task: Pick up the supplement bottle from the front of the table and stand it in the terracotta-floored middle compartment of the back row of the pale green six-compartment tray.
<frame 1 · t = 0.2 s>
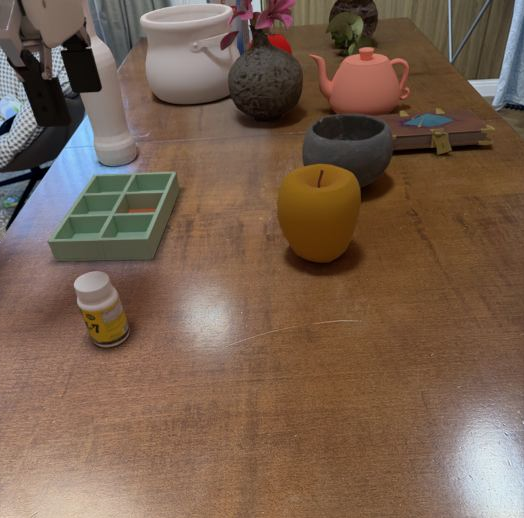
hand: (72, 107, 50), 25 cm above the table, tool pointing down, fingers open, 9 cm apart
teapot: (358, 112, 114), on the table
bottle: (118, 160, 103), on the table
tomato: (272, 75, 139), on the table
pot: (197, 92, 132), on the table
bowl: (344, 185, 88), on the table
milk carton: (232, 59, 153), on the table
book: (415, 141, 100), on the table
apple: (318, 256, 73), on the table
potted plant: (352, 52, 149), on the table
vase: (265, 118, 115), on the table
supplement bottle: (111, 336, 63), on the table
tray: (123, 222, 84), on the table
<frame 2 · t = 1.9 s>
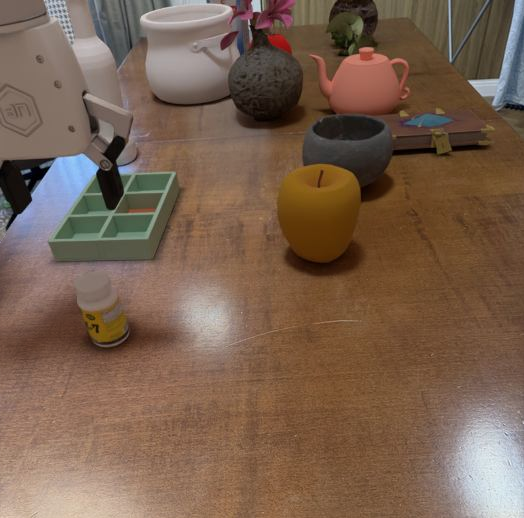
hand: (69, 205, 51), 17 cm above the table, tool pointing down, fingers open, 9 cm apart
nothing on the table moved.
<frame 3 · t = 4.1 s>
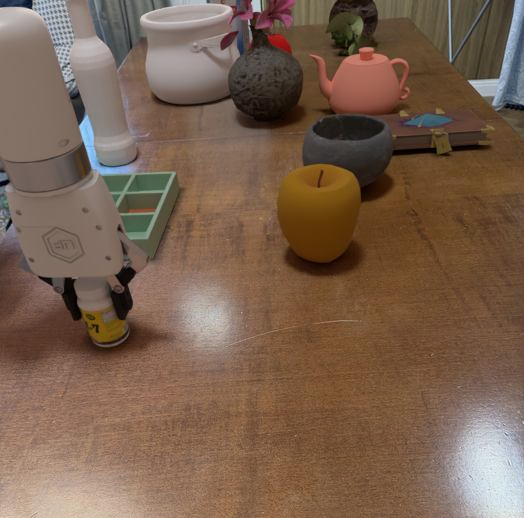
hand: (102, 312, 60), 4 cm above the table, tool pointing down, fingers closed on supplement bottle, 4 cm apart
supplement bottle: (111, 336, 63), on the table, touching gripper
everything else where it was.
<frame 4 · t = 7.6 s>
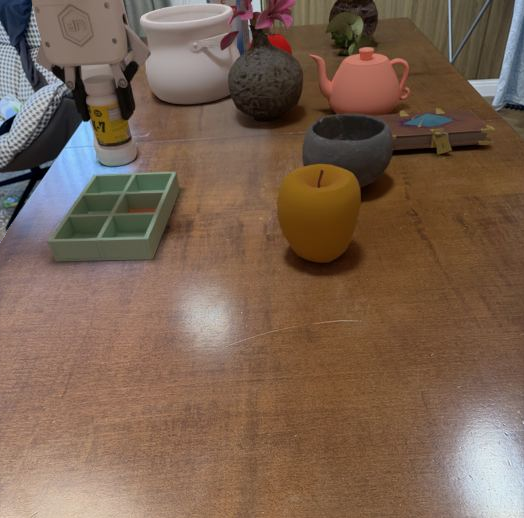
hand: (108, 116, 68), 18 cm above the table, tool pointing down, fingers closed on supplement bottle, 4 cm apart
supplement bottle: (116, 145, 71), point 14 cm above the table, touching gripper
everything else where it was.
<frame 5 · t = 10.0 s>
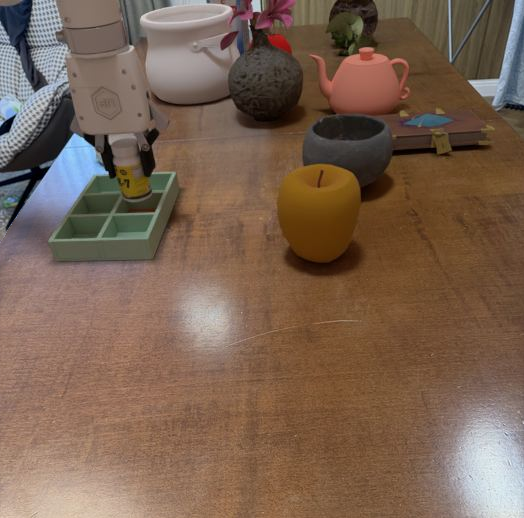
hand: (132, 173, 77), 8 cm above the table, tool pointing down, fingers closed on supplement bottle, 4 cm apart
supplement bottle: (138, 197, 80), point 4 cm above the table, touching gripper
everything else where it was.
when the fingers open (4 cm above the table, at t = 11.4 s): supplement bottle stays where it is, resting on tray.
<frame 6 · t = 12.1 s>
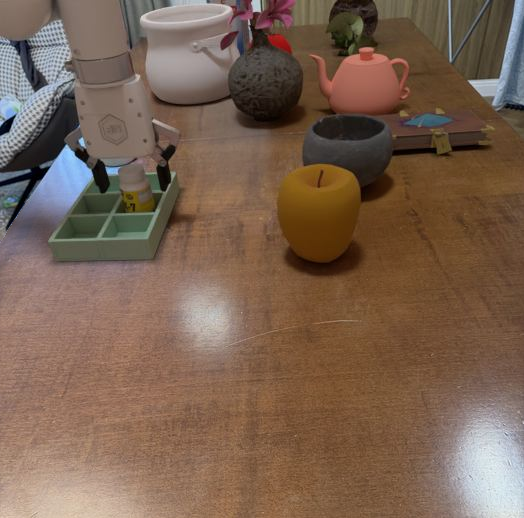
hand: (135, 188, 79), 6 cm above the table, tool pointing down, fingers open, 9 cm apart
supplement bottle: (143, 219, 83), point 1 cm above the table, touching tray
everything else where it was.
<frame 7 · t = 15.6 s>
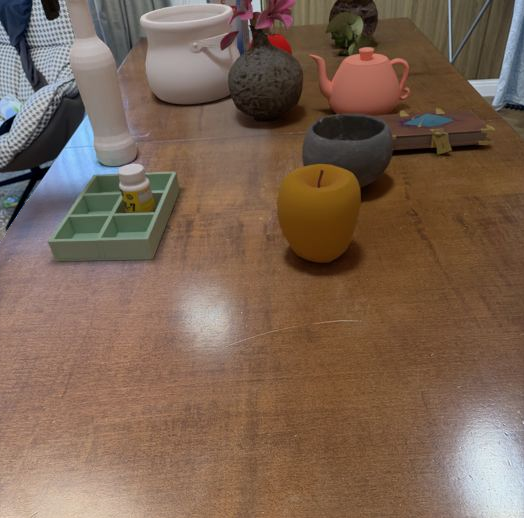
hand: (19, 20, 68), 28 cm above the table, tool pointing down, fingers open, 9 cm apart
nothing on the table moved.
at the end: supplement bottle 0.1 cm from the target spot in the tray, point 0.5 cm above the tray's base; supplement bottle tilted 0°; the gripper is holding nothing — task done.
